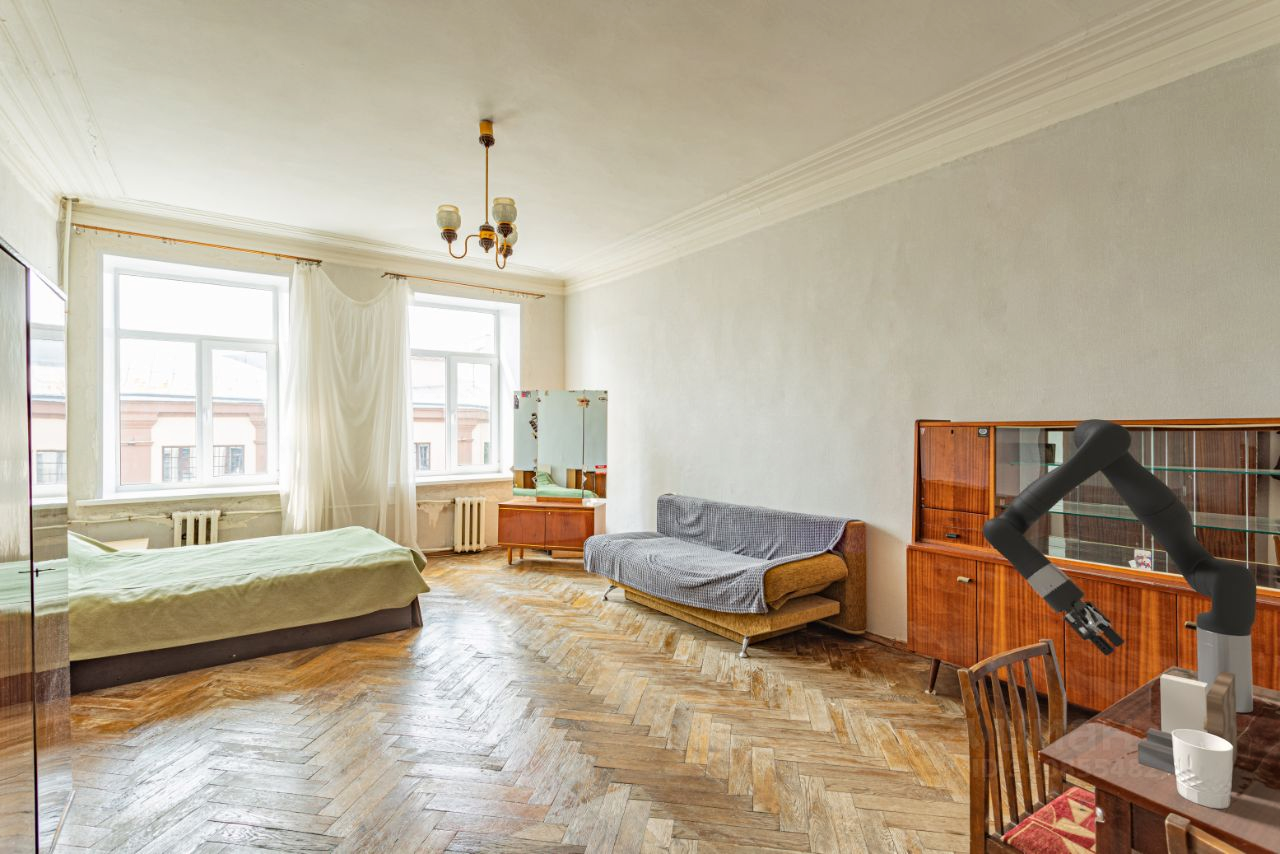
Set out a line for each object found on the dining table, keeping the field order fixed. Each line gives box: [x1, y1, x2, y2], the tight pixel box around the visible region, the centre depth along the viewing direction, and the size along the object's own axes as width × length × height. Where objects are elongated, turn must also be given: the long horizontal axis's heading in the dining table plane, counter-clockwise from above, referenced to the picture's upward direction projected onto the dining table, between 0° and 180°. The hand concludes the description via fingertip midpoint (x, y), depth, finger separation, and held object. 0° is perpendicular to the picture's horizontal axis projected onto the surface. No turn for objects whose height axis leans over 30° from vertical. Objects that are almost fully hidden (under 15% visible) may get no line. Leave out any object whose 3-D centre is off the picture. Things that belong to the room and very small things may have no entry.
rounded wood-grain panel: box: [1137, 671, 1238, 775], centre depth 119 cm, size 17×12×16 cm
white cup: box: [1172, 729, 1234, 810], centre depth 107 cm, size 8×8×10 cm
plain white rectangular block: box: [1159, 673, 1208, 734], centre depth 128 cm, size 3×7×12 cm, turn 40°
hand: (1116, 648), depth 136 cm, fingers open, 8 cm apart
